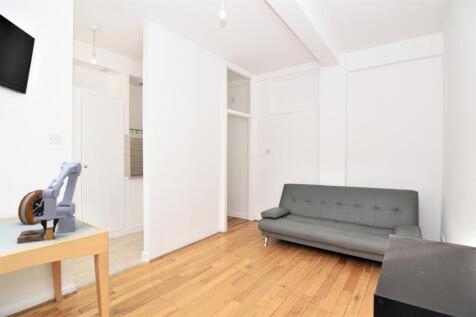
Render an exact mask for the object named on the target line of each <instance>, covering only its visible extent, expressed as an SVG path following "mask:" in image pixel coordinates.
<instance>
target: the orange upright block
mask: <svg viewBox="0 0 476 317" xmlns="http://www.w3.org/2000/svg"><path fill="white" fill-rule="evenodd" d="M53 237H55V232H54V233H53V226H49V227H48V226H47V229H46V234H45V241H51V240H52V241H53Z"/></svg>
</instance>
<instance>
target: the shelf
mask: <svg viewBox="0 0 476 317" xmlns="http://www.w3.org/2000/svg"><path fill="white" fill-rule="evenodd" d="M44 236H46V234H45V231H44V228H38V229H28V230H27V229H25V230H21V231H20V235H19V236H17V240H16V242H17V245H19V244H25V243H34V242H41V241H42V240H43V238H44Z"/></svg>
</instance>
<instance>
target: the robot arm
mask: <svg viewBox="0 0 476 317" xmlns="http://www.w3.org/2000/svg"><path fill="white" fill-rule="evenodd" d="M82 168H83V167H82V163H81V162H70V161H68V162H67V161H63V162H62V164H61V165H60V169H61V170H60V172H59V174H58V176H57V177H56V178H54V179H53V180H52V181H51V183H50V184H49V185H48V187H47V188H45V189H42V190H43V192H42V197H43V201H44V217H37V218H34V222H36V221H41V222H40V225H41V226H42V229H44V231H45V235H46V229H47V228H48V221H47V220H50V221H52V227H53V233H54V234H55V233H56V234H58V233H66V232H67V233H68V232H75V231H76V227H77V225H76V215H75V213H76V203H74V202H73V197H74V193H75V191H76V186H77V182H78V178H79V177H80V176H81V173H82ZM66 178H68V179H67V182H66V185H65V190H64V193H63V197H62V200H61V201H59V202H58V197H59V196H60V194H61V193H60V192H61V189H62V187H63V186H64V184H65V179H66ZM57 202H58V203H57ZM56 228H57V229H56Z"/></svg>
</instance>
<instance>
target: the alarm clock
mask: <svg viewBox="0 0 476 317" xmlns="http://www.w3.org/2000/svg"><path fill="white" fill-rule="evenodd" d="M43 190H44V189H35V190H34V191H30V192H28V193H27V194H25V195H24V196H23V197H22V199H21V200H20V202H19V205H18V210H17V215H18V216H17V217H18V219H19V221H20V222H21V224H22V223H23V224H24V225H34V226H35V225H39V224H40V225H41V223H40V222H41V221H36V222H34V218H37V217H44V201H43V197H42V192H43ZM50 221H51V220H47V222H50Z"/></svg>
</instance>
